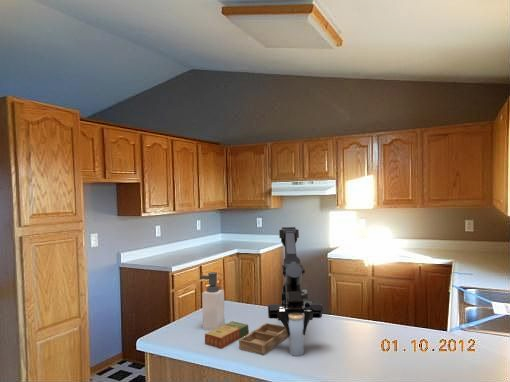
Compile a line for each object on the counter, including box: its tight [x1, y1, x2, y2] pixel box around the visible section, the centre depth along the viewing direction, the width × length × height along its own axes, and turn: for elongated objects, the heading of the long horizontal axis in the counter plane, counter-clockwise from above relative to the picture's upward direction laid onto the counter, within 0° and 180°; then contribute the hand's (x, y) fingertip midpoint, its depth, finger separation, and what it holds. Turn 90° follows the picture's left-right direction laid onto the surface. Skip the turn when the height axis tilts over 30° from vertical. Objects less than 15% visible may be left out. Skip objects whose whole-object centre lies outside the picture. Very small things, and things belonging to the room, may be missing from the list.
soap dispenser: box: [199, 271, 226, 331], centre depth 151 cm, size 6×9×22 cm
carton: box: [204, 320, 250, 350], centre depth 139 cm, size 8×16×4 cm, turn 145°
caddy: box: [238, 322, 289, 356], centre depth 135 cm, size 19×10×3 cm, turn 149°
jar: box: [288, 313, 305, 357], centre depth 125 cm, size 5×5×13 cm
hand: (296, 334), depth 124 cm, fingers closed on jar, 5 cm apart
